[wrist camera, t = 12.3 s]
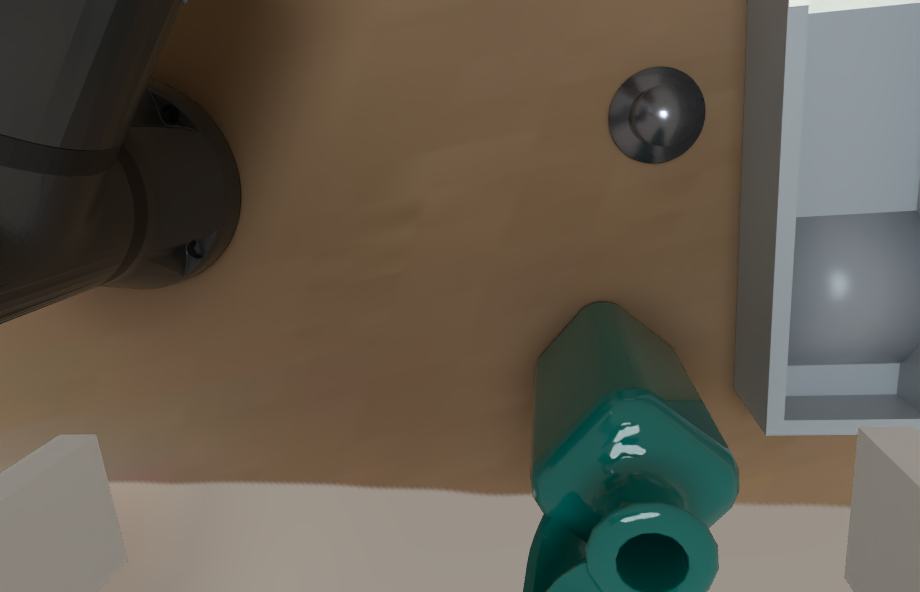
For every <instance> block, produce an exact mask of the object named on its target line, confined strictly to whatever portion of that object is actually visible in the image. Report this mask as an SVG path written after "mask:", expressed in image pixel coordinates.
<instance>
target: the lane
mask: <svg viewBox="0 0 920 592" xmlns="http://www.w3.org/2000/svg"><path fill="white" fill-rule="evenodd" d="M734 390H735V392H736V393H737V395H738V396H739V398H740V399H741V400H742V402H743V403H744V405H745V406H746V408H747V409H748V410H749V412H750V413H751V415H752V416H753V418H754V419H755V420H756V422H757V423H758V425H759V426H760V428H761V429H762V430H763V432H764V433H765V435H858V427H914V428H915V429H916V430H917V431H918V432H920V0H748V4H747V32H746V60H745V87H744V115H743V143H742V171H741V199H740V227H739V255H738V283H737V310H736V338H735V366H734Z"/></svg>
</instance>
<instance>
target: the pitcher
mask: <svg viewBox="0 0 920 592" xmlns="http://www.w3.org/2000/svg"><path fill="white" fill-rule="evenodd" d="M530 480H531V489H532V495H533V497H534V499H535V501H536V502H537V504H538V506H539V507H540V509H541V510H542V512H543V513H544V515H543V517H542V519H541V521H540V524H539V526H538V529H537V531H536V534H535V536H534V539H533V542H532V545H531V548H530V552H529V557H528V563H527V568H526V576H525V583H524V589H523V592H707V591H708V590H709V589H710V587H711V585H712V582H713V580H714V578H715V576H716V574H717V571H718V568H719V564H718V545H717V543H716V541H715V540H714V538H713V536H712V534H711V533H710V531H709V529H708V528H710V527H711V526H712V525H713V524H714V523H715V522H716V521H717V520H719V519H720V518H721V517H722V516H723V515H724V514H725V513H726V512H727V511H729V510H730V509H731V508H732V506H733V504H734V502H735V500H736V498H737V496H738V493H739V489H740V486H739V468H738V465H737V463H736V461H735V459H734V457H733V455H732V454H731V452H730V450H729V448H728V446H727V445H726V443H725V441H724V439H723V437H722V436H721V434H720V432H719V430H718V428H717V427H716V425H715V423H714V421H713V419H712V418H711V416H710V414H709V412H708V410H707V409H706V407H705V405H704V403H703V401H702V400H701V398H700V396H699V394H698V392H697V391H696V389H695V387H694V385H693V384H692V382H691V380H690V378H689V376H688V375H687V373H686V371H685V369H684V367H683V366H682V364H681V362H680V360H679V358H678V357H677V355H676V353H675V351H674V349H673V348H672V347H671V346H669V345H668V344H667V343H666V342H664V341H663V340H662V339H660V338H659V337H658V336H657V335H655V334H654V333H653V332H652V331H650V330H649V329H648V328H646V327H645V326H644V325H643V324H641V323H640V322H639V321H638V320H636V319H635V318H634V317H632V316H631V315H630V314H629V313H627V312H626V311H625V310H624V309H622V308H621V307H620V306H618V305H616V304H612V303H609V302H600V303H593V304H591V305H589V306H587V307H585V308H583V309H582V310H581V311H580V312H579V314H578V315H577V316H576V317H575V318H574V319H573V320H572V321H571V323H570V324H569V325H568V326H567V327H566V328H565V329H564V330H563V332H562V333H561V334H560V335H559V336H558V337H557V338H556V340H555V341H554V342H553V343H552V344H551V345H550V346H549V347H548V349H547V350H546V351H545V352H544V353H543V354H542V355H541V356H540V358H539V359H538V361H537V364H536V368H535V380H534V400H533V421H532V441H531V462H530Z"/></svg>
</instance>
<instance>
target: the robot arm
mask: <svg viewBox="0 0 920 592" xmlns="http://www.w3.org/2000/svg"><path fill="white" fill-rule="evenodd" d="M186 2H187V0H0V324H2V323H4V322H7V321H10V320H12V319H15V318H17V317H20V316H22V315H25V314H28V313H30V312H33V311H35V310H38V309H41V308H43V307H46V306H48V305H51V304H53V303H56V302H59V301H61V300H64V299H66V298H69V297H72V296H74V295H77V294H79V293H82V292H84V291H87V290H90V289H92V288H95V287H98V286H105V287H118V288H131V289H155V288H161V287H166V286H170V285H173V284H176V283H178V282H181V281H183V280H185V279H188V278H190V277H192V276H194V275H197V274H198V273H200V272H202V271H203V270H205V269H206V268H208V267H209V266H210V265H211V264H213V263H214V262H215V261H216V260H217V259H218V258H219V256H220V255H221V254H222V253H223V251H224V250H225V249H226V247H227V245H228V244H229V242H230V240H231V238H232V236H233V233H234V231H235V228H236V225H237V221H238V217H239V211H240V195H241V194H240V182H239V176H238V171H237V167H236V163H235V160H234V157H233V155H232V152H231V150H230V147H229V145H228V143H227V141H226V140H225V138H224V136H223V134H222V133H221V131H220V130H219V128H218V127H217V125H216V124H215V123H214V122H213V120H212V119H211V118H210V117H209V116H208V115H207V113H206V112H205V111H204V110H203V109H202V108H201V107H199V106H198V105H197V104H196V103H195V102H193V101H192V100H191V99H189V98H188V97H187V96H185V95H183V94H182V93H180V92H178V91H177V90H175V89H173V88H171V87H168V86H166V85H163V84H160V83H157V82H154V81H149V80H150V78H151V76H152V73H153V71H154V68H155V66H156V64H157V61H158V59H159V56H160V54H161V52H162V49H163V47H164V45H165V42H166V40H167V37H168V35H169V33H170V30H171V28H172V26H173V23H174V21H175V18H176V16H177V14H178V11H179V9H180V7H181V4H182V3H185V4H186ZM127 561H128V559H127V555H126V551H125V547H124V543H123V539H122V535H121V531H120V527H119V523H118V519H117V515H116V512H115V507H114V503H113V499H112V495H111V492H110V487H109V483H108V479H107V475H106V471H105V467H104V463H103V460H102V456H101V452H100V448H99V444H98V440H97V436H96V435H58V436H57V437H55V438H54V439H52V440H51V441H49V442H48V443H46V444H44V445H43V446H41V447H40V448H38V449H37V450H35V451H34V452H32V453H30V454H29V455H27V456H26V457H24V458H23V459H21V460H20V461H18V462H16V463H15V464H13V465H12V466H10V467H9V468H7V469H6V470H4V471H2V472H1V473H0V592H99V591H100V590H101V589H102V588H103V587H104V586H105V585H106V583H107V582H108V581H109V580H110V579H111V578H112V577H113V576H114V575H115V574H116V573H117V572H118V571H119V570H120V569H121V568H122V567H123V566H124V564H126V563H127ZM845 579H846V581H847V582H848V584H849V585H850V587H851V588H852V589H853V591H854V592H920V432H918V431H917V430H916V429H915V428H914V427H858V437H857V448H856V458H855V469H854V480H853V491H852V502H851V513H850V523H849V535H848V545H847V555H846V566H845Z"/></svg>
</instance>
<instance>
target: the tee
mask: <svg viewBox="0 0 920 592" xmlns="http://www.w3.org/2000/svg"><path fill="white" fill-rule="evenodd" d="M704 120H705V103H704V98H703V95H702V93H701V91H700V88H699V87H698V85H697V84H696V83H695V82H694V80H693V79H692V78H691V77H689V76H688V75H687V74H685V73H683V72H682V71H679V70H677V69H674V68H670V67H653V68H649V69H645V70H643V71H640V72H638V73H636V74H635V75H633V76H631V77H630V78H629V79H627V80H626V81H625V82H624V83H623V84H622V85H621V87H620V88H619V89H618V90H617V92H616V94H615V95H614V98H613V100H612V102H611V106H610V110H609V128H610V132H611V135H612V138H613V139H614V141H615V143H616V144H617V146H618V147H619V148H620V149H621V150H622V151H623V152H624V153H625V154H626V155H628V156H630V157H631V158H633V159H636V160H638V161H641V162H646V163H661V162H666V161H669V160H672V159H674V158H676V157H678V156H680V155H681V154H683V153H684V152H686V151H687V150H688V149H689V148H690V147H691V146H692V145H693V143H694V142H695V141H696V139H697V138H698V136H699V134H700V132H701V130H702V127H703V124H704Z"/></svg>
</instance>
